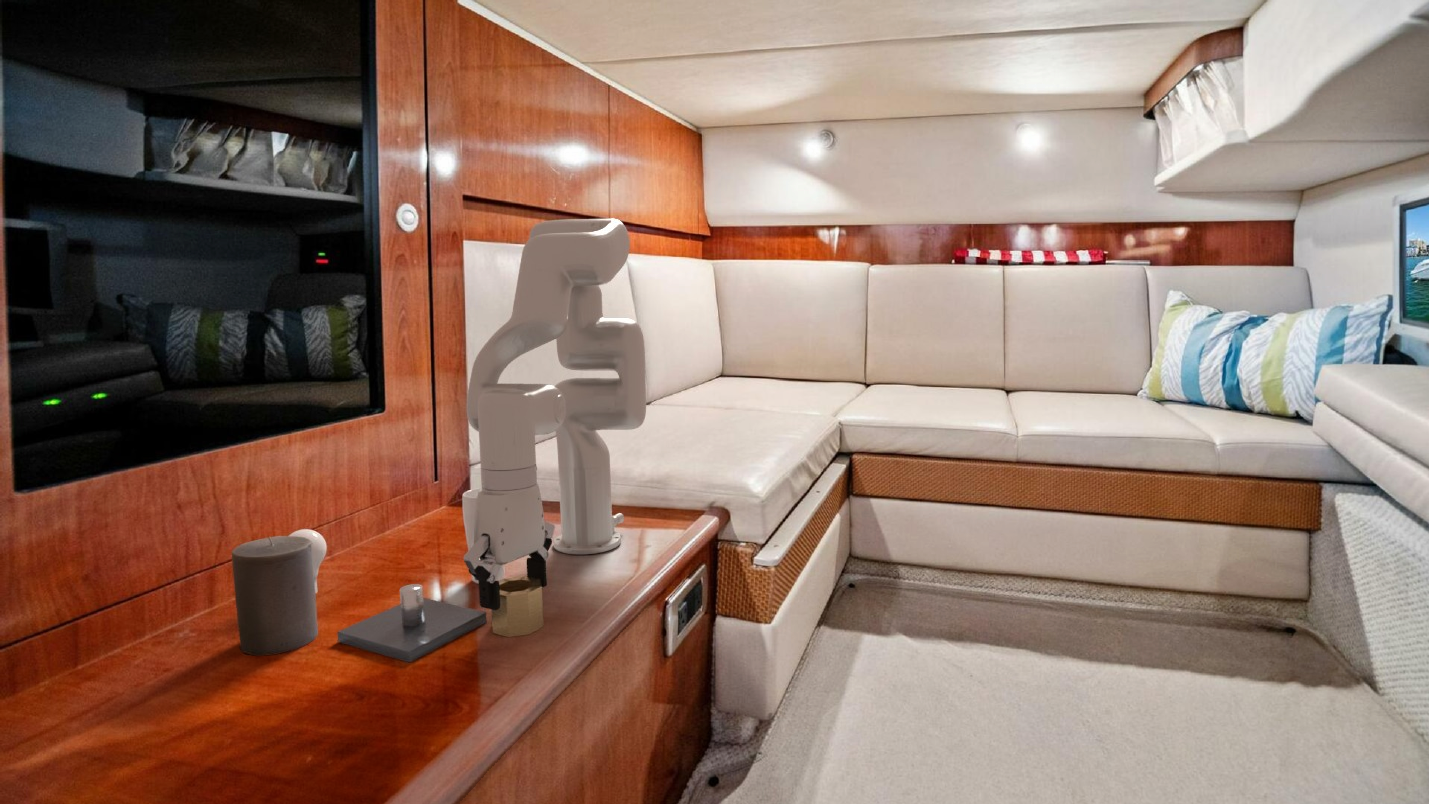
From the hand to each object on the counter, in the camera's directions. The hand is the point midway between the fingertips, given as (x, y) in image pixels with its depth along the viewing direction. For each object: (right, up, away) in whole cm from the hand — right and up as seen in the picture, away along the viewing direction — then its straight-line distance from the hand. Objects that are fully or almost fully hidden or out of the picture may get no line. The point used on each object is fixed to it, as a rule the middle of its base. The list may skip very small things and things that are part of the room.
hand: (514, 596), depth 112 cm
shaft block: (-14, -5, 0) cm, 15 cm away
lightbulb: (-36, -4, +14) cm, 39 cm away
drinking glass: (-9, -2, +20) cm, 22 cm away
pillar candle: (-32, -6, -2) cm, 33 cm away
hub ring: (0, -5, +1) cm, 5 cm away
